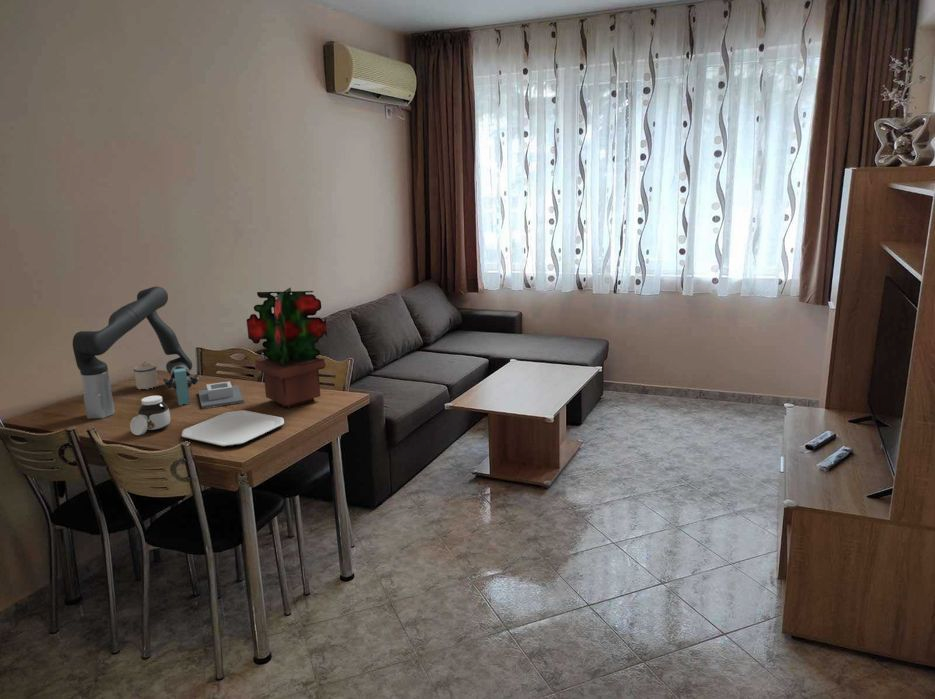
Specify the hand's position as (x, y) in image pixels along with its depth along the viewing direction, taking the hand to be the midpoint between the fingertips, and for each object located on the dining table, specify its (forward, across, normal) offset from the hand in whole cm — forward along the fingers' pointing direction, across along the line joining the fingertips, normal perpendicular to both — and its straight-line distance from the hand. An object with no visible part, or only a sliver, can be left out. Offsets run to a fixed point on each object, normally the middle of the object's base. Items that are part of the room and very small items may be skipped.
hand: (182, 386), depth 267 cm
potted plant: (+16, +40, +8) cm, 44 cm away
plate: (+40, +15, +9) cm, 43 cm away
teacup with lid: (-36, -15, +8) cm, 40 cm away
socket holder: (-3, +14, +8) cm, 16 cm away
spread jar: (+25, -12, +8) cm, 29 cm away
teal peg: (-3, 0, +8) cm, 8 cm away
